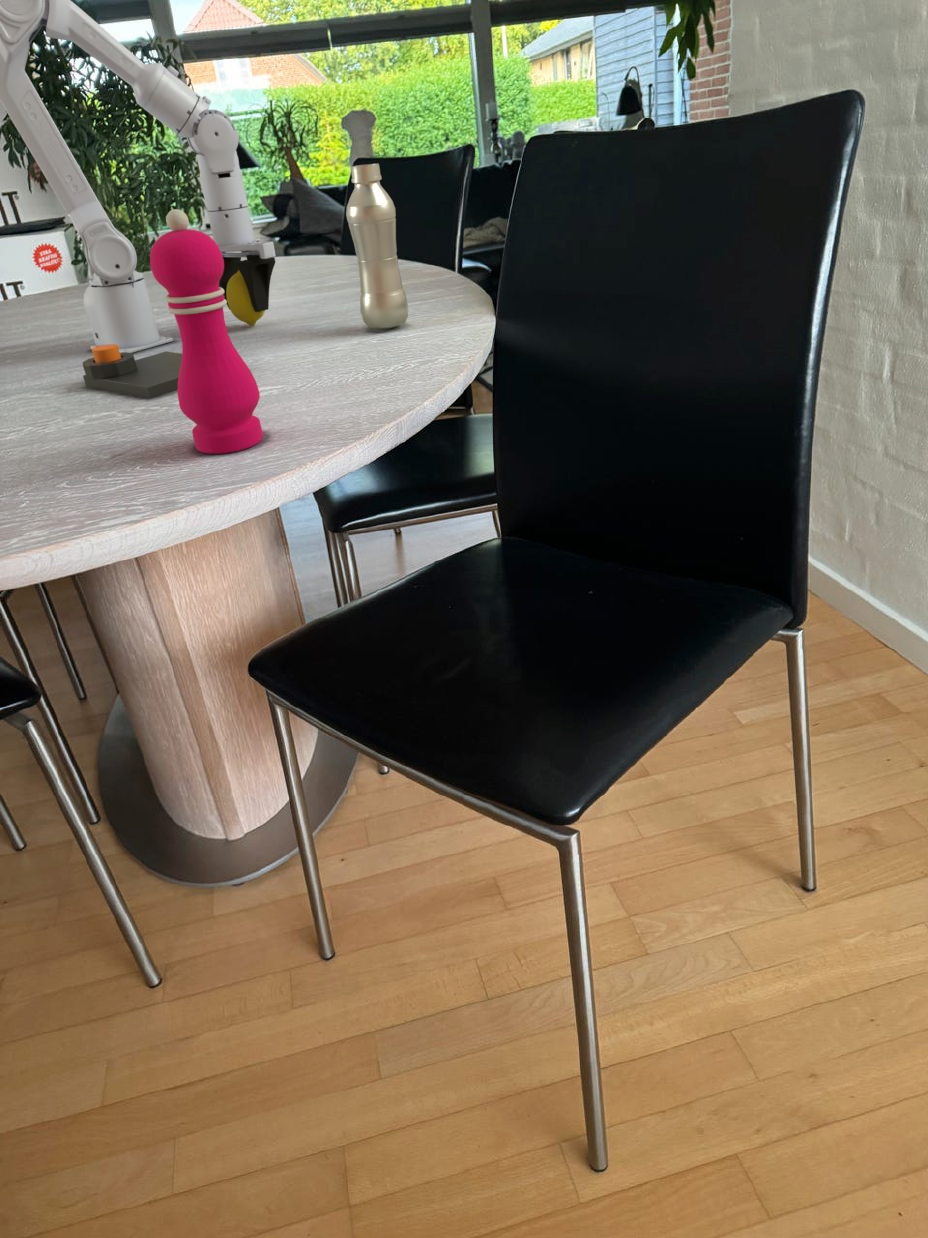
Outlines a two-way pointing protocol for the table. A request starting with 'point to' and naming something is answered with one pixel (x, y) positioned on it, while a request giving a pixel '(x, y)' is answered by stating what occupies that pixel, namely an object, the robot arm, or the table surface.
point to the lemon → (241, 300)
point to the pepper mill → (205, 341)
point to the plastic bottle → (376, 250)
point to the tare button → (106, 353)
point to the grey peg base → (135, 374)
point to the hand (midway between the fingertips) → (248, 309)
